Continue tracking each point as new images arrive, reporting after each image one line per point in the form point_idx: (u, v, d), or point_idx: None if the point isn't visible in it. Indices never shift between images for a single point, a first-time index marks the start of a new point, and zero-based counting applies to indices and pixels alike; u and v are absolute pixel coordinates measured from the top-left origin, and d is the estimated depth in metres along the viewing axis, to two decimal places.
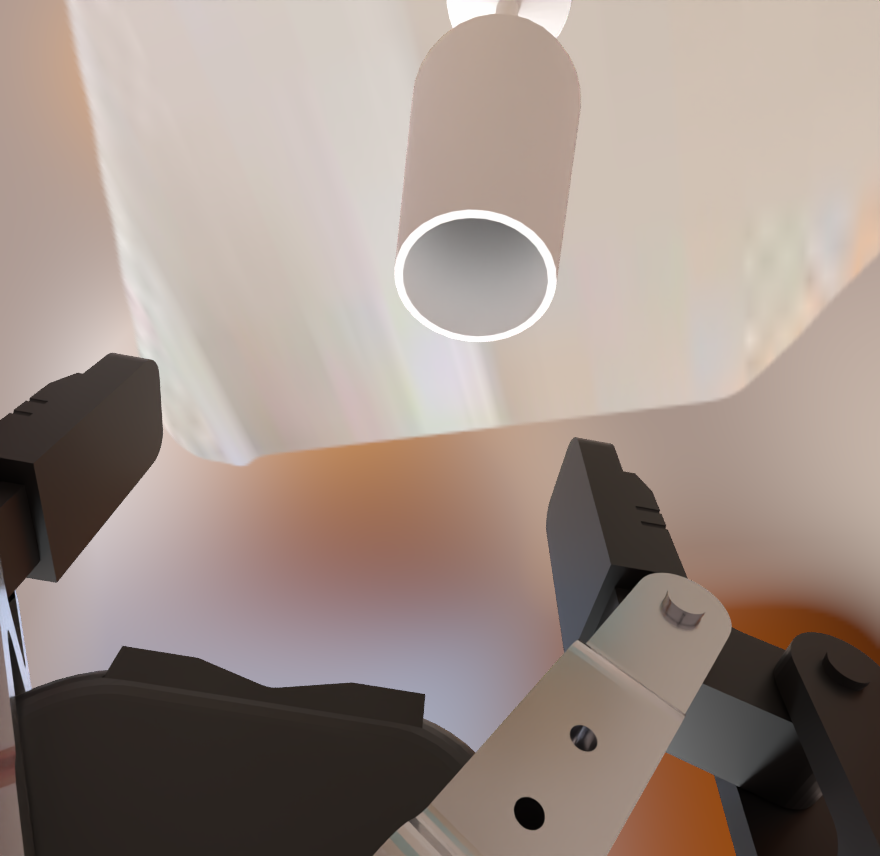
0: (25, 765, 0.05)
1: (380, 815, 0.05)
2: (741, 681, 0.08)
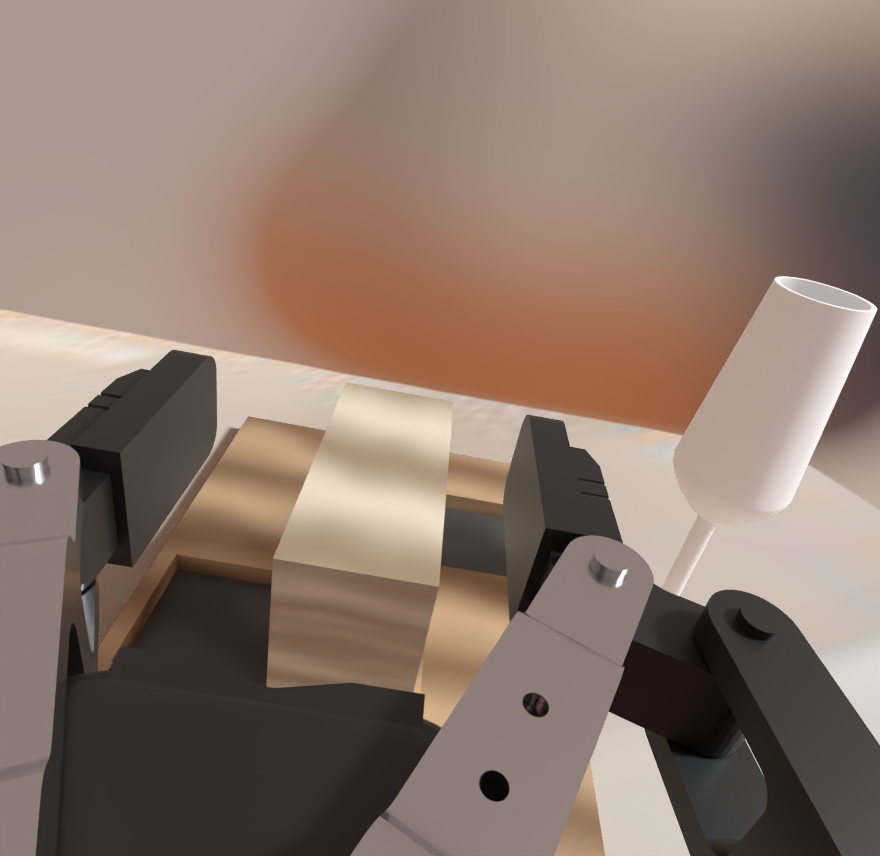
0: (64, 764, 0.05)
1: (380, 815, 0.05)
2: (662, 635, 0.08)
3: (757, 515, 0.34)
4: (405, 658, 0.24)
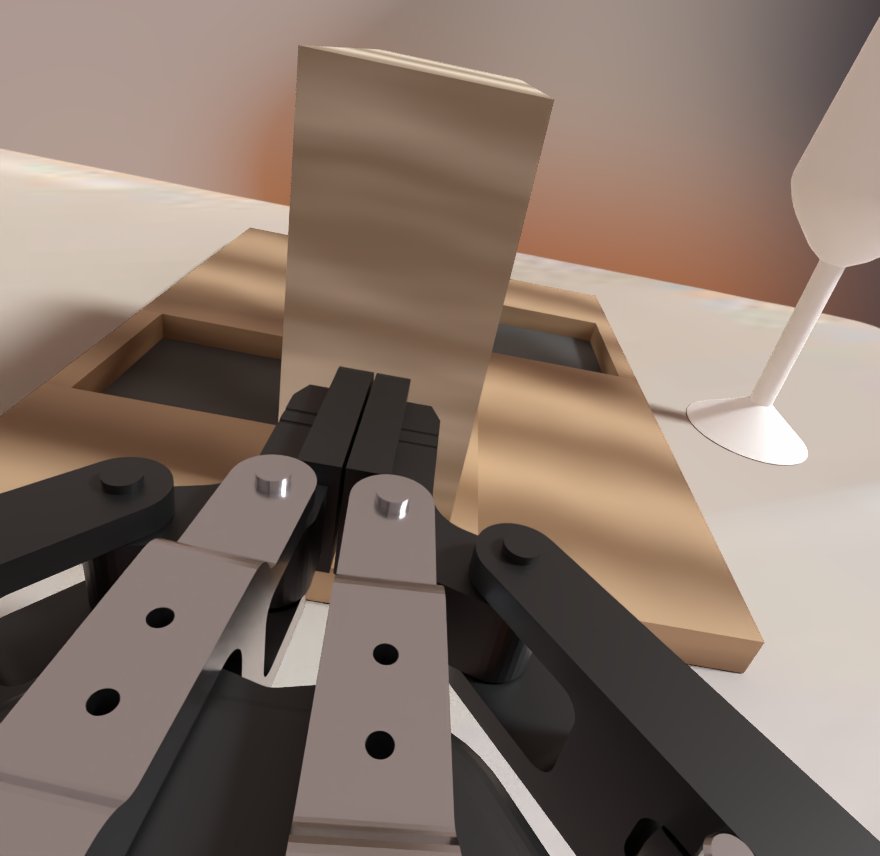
0: (159, 798, 0.05)
1: None
2: (437, 564, 0.08)
3: None
4: (489, 265, 0.17)
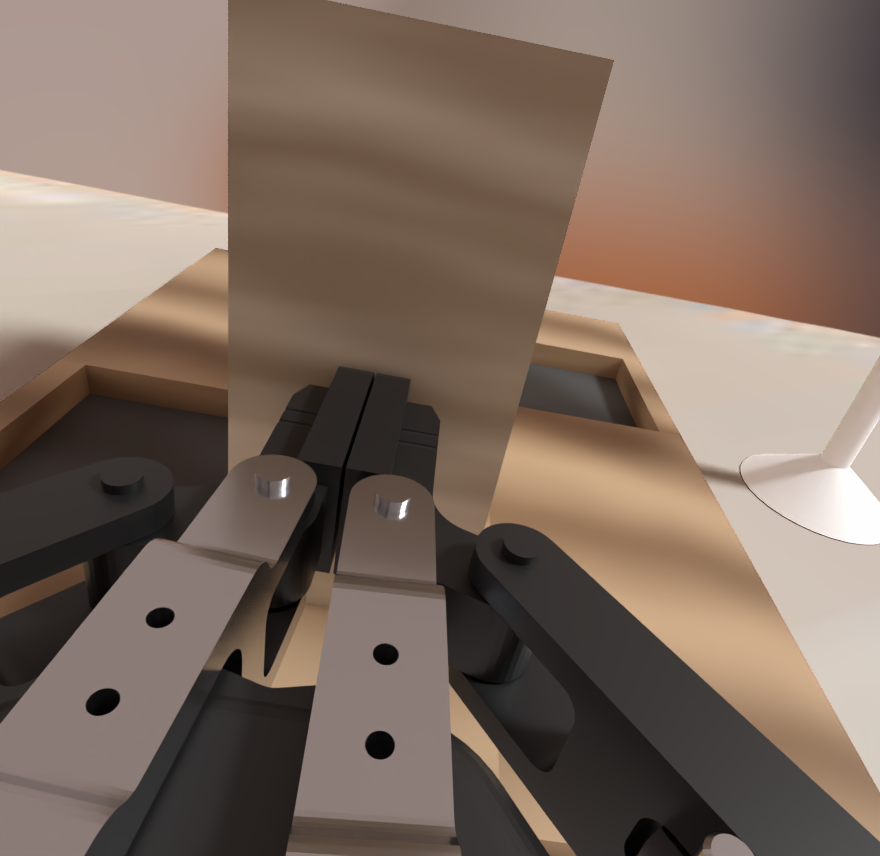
0: (159, 799, 0.05)
1: None
2: (438, 564, 0.08)
3: None
4: (514, 302, 0.12)
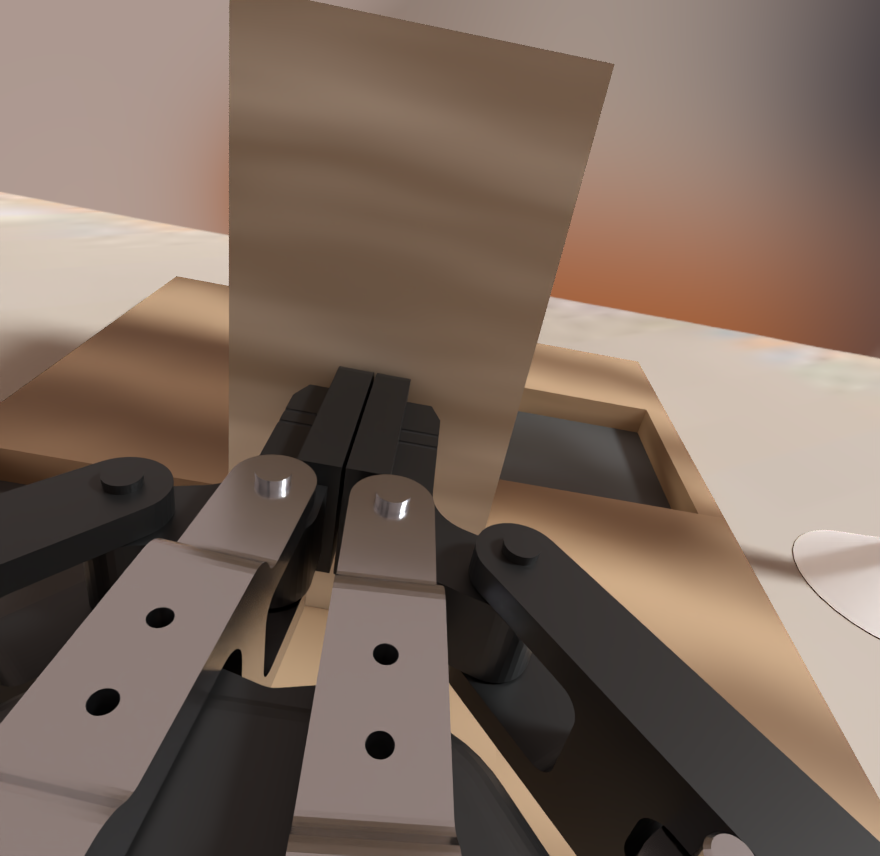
0: (159, 799, 0.05)
1: None
2: (437, 564, 0.08)
3: None
4: (514, 305, 0.12)
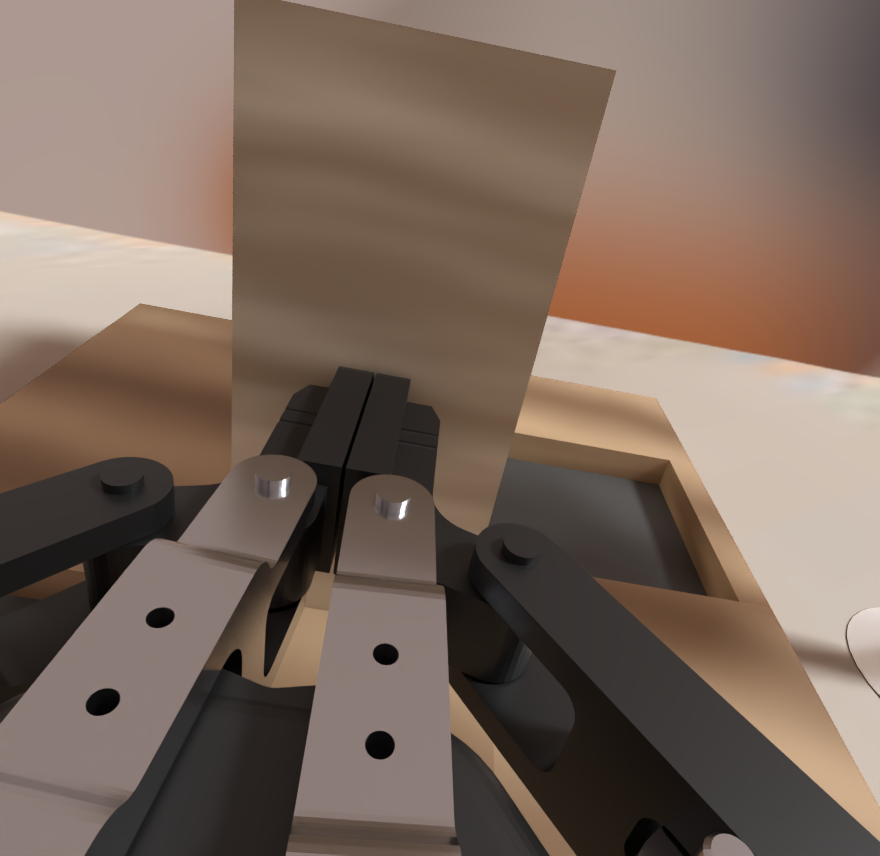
0: (159, 798, 0.05)
1: None
2: (437, 564, 0.08)
3: None
4: (516, 309, 0.12)
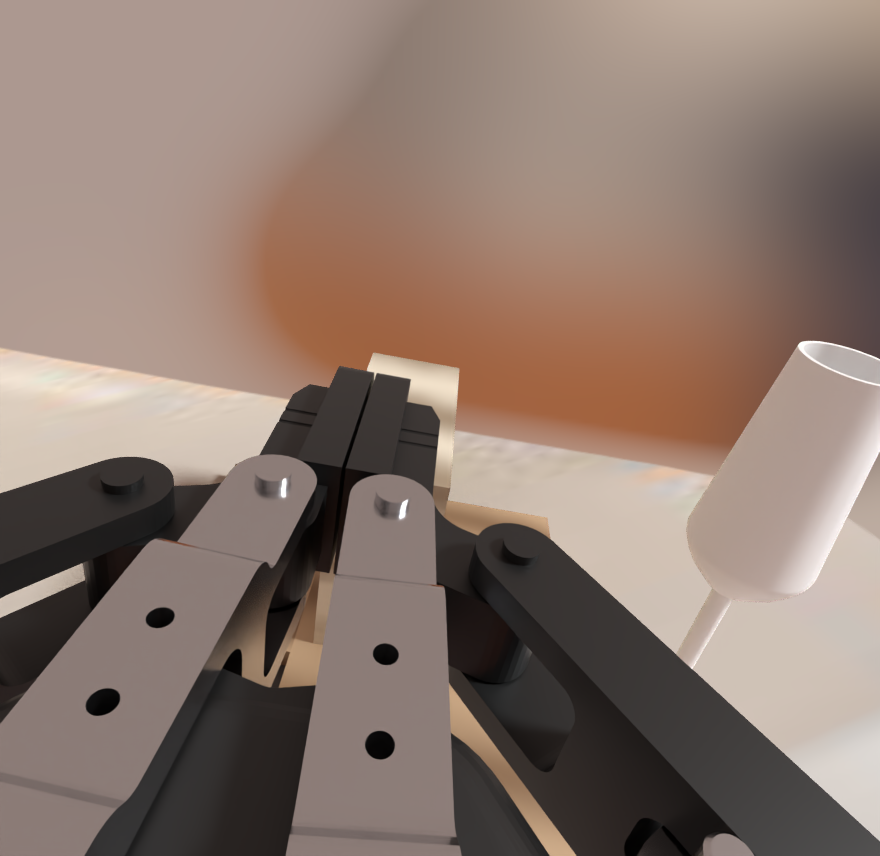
0: (159, 799, 0.05)
1: None
2: (437, 564, 0.08)
3: (779, 597, 0.31)
4: None
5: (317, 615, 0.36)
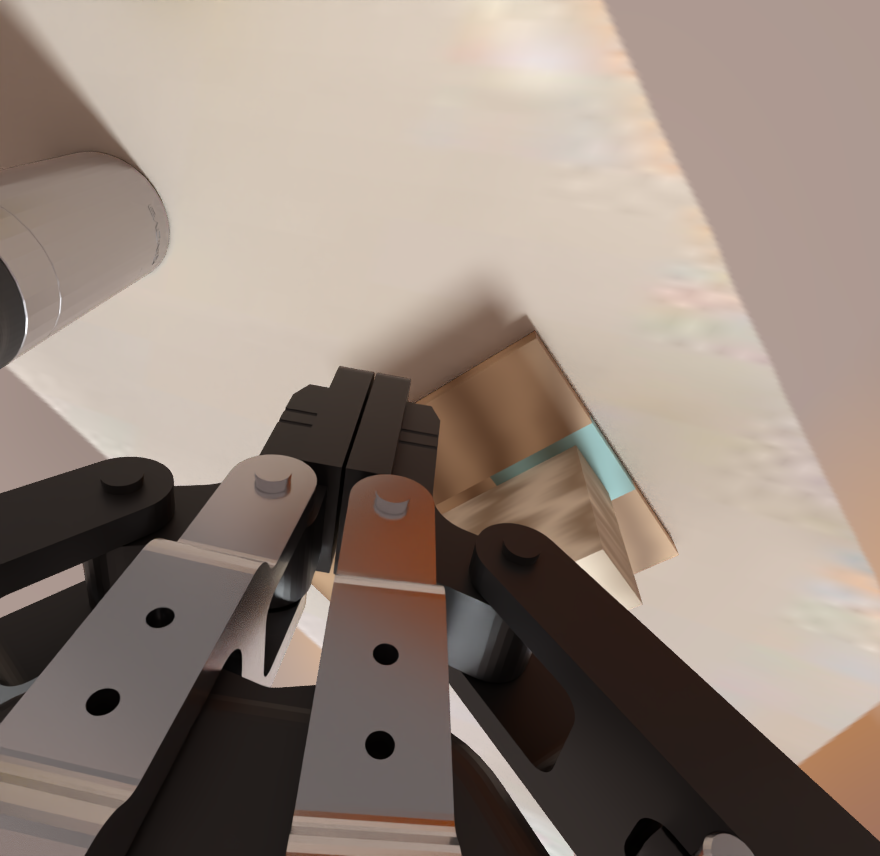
0: (159, 799, 0.05)
1: None
2: (437, 564, 0.08)
3: None
4: None
5: None
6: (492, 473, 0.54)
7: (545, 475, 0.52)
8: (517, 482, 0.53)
